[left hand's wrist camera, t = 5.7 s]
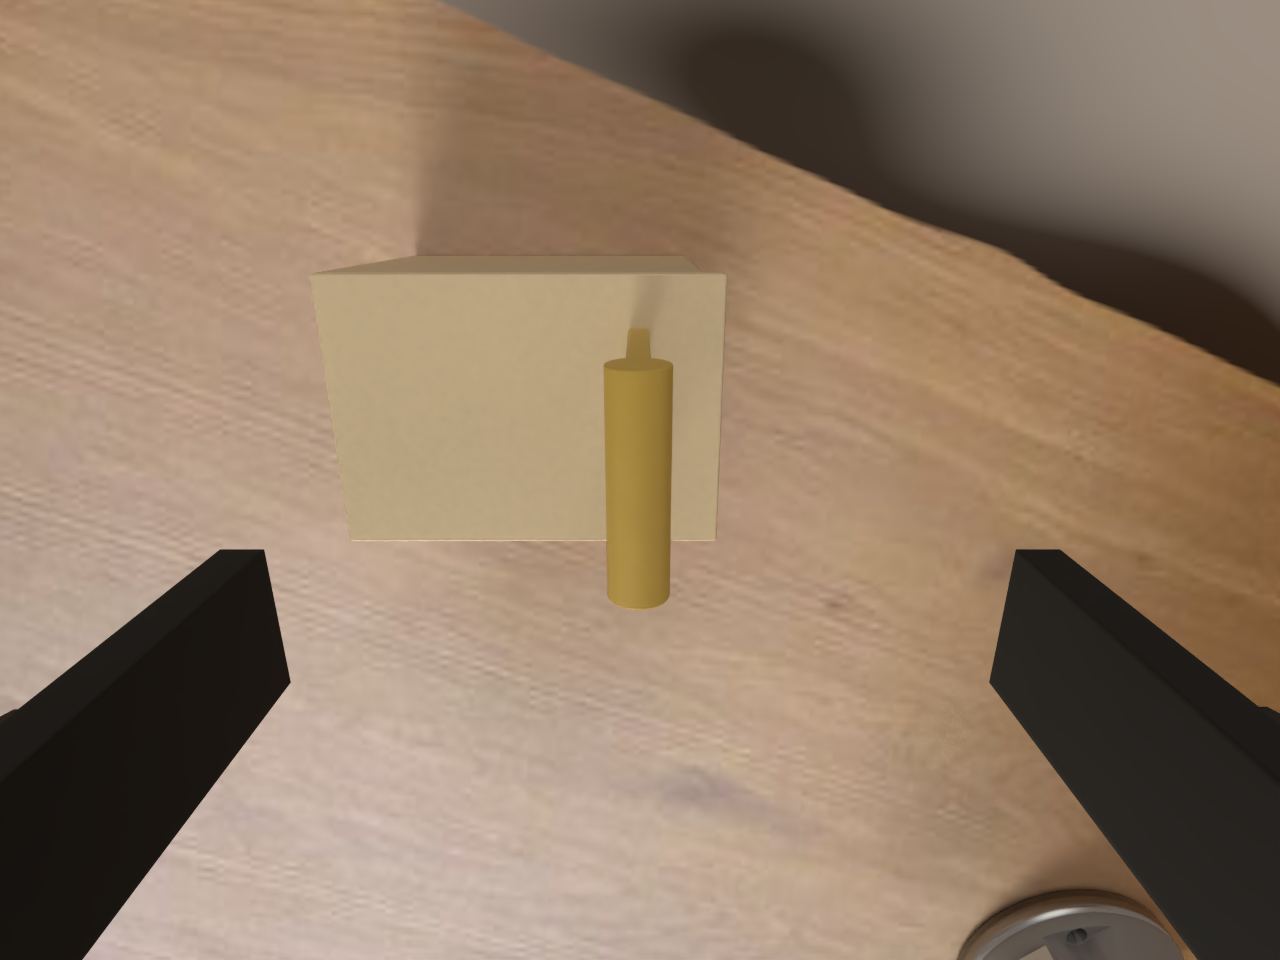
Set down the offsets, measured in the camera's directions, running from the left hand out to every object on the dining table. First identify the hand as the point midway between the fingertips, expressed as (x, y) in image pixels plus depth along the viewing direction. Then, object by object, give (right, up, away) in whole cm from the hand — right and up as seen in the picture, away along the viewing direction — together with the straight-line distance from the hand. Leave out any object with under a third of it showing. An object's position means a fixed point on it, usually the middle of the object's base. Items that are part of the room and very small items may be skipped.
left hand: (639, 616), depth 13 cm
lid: (-4, +5, +13) cm, 15 cm away
